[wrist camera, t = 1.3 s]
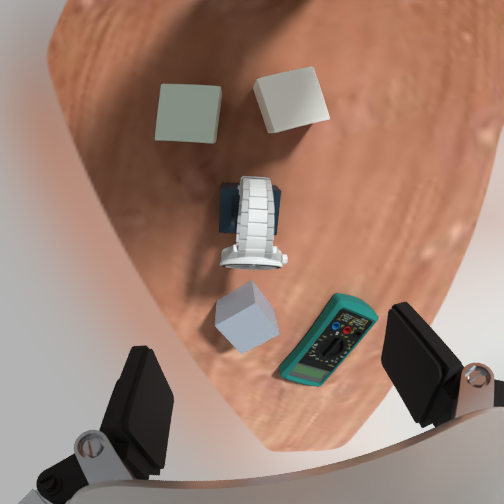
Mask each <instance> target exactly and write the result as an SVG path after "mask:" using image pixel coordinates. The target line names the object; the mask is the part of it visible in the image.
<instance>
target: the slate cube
mask: <svg viewBox="0 0 504 504" xmlns="http://www.w3.org/2000/svg"><path fill="white" fill-rule="evenodd" d="M215 327H216V328H217V329H218V330H219V331H220V332H221V333H222V334H223V335H224V336H225V337H226V338H227V339H228V341H229V342H230V343H231V344H232V345H233V346H234V347H235V348H236V349H237V350H238V351H239V352H240V353H241V354H243V353H245V352H247V351H249V350H251V349H253V348H254V347H256V346H258V345H260V344H262V343H264V342H266V341H268V340H270V339H272V338H274V337H276V336H277V335H279V334H280V333H279V329H278V324H277V320H276V316H275V311H274V309H273V307H272V306H271V305H270V303H269V302H268V301H267V299H266V298H265V297H264V295H263V294H262V293H261V291H260V290H259V289H258V287H257V286H256V285H255V283H254V282H253V281H252V280H251V281H249V282H247V283H246V284H244V285H242V286H241V287H239V288H237V289H236V290H234V291H232V292H230V293H229V294H227V295H225V296H224V297H222V298H220V299H219V300H217V301H216V315H215Z"/></svg>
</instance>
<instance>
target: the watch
mask: <svg viewBox="0 0 504 504" xmlns="http://www.w3.org/2000/svg"><path fill="white" fill-rule="evenodd" d="M270 180H271V179H270V178H266V177H252V176H242V177H241V180H240V183H225V182H222V185H221V196H220V219H219V233H237V236H236V245H232V246H230V247H227V248H224V249H223V250H222V252H221V262H220V266H223V267H227V268H234V269H250V270H268V269H278V268H282V264H287V255H282V254H281V252H280V251H279V250H278V248H277V247H275V246H273V239H274V235H277V226H278V216H279V207H280V197H281V191H280V190H279V188H278V187H277V186H275V185H271V181H270Z"/></svg>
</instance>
